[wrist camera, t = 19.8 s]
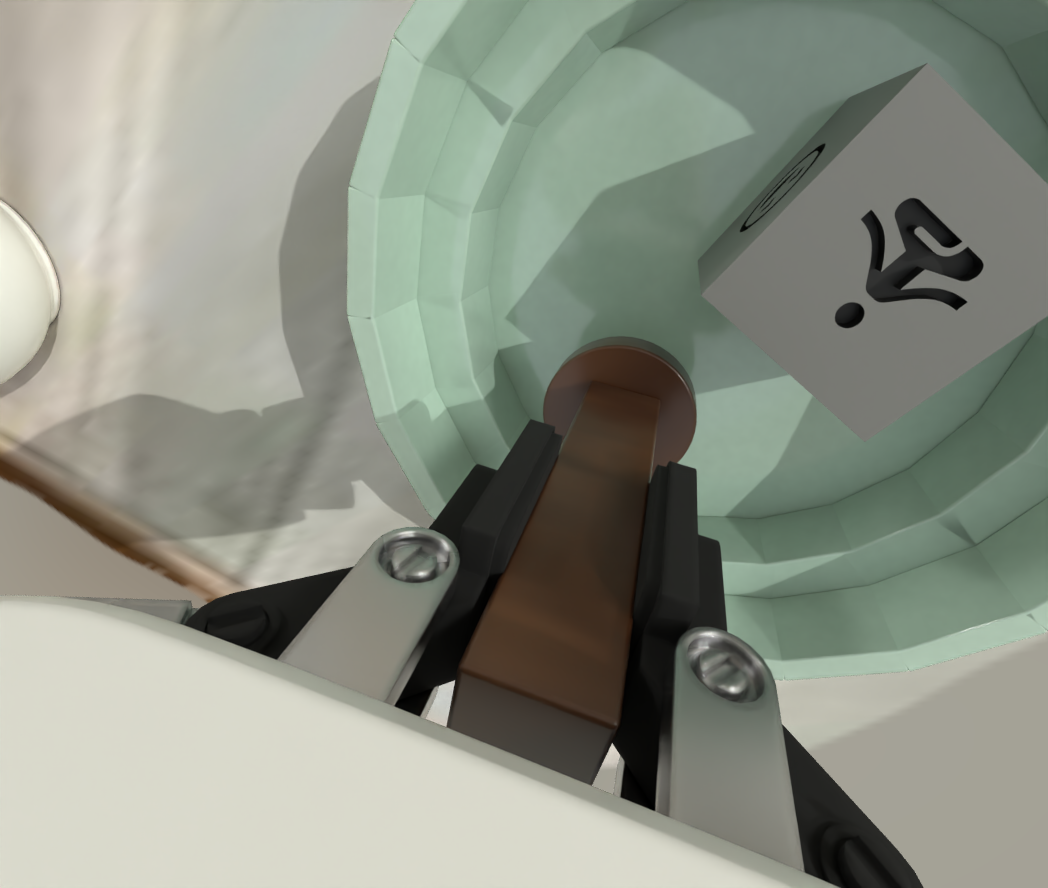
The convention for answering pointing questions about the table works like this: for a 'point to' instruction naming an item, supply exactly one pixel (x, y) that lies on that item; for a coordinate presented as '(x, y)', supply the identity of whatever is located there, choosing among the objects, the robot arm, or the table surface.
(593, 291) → the bowl
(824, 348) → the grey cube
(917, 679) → the table surface
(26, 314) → the trinket box
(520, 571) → the muddler
